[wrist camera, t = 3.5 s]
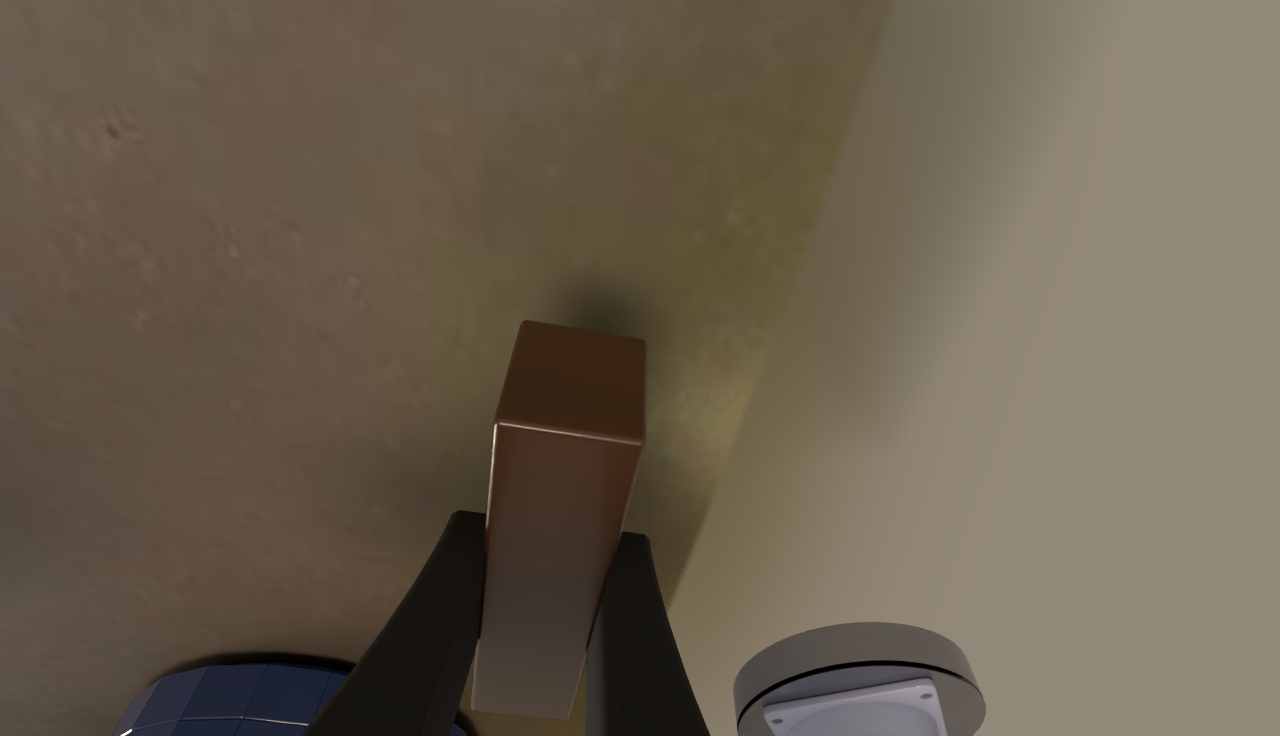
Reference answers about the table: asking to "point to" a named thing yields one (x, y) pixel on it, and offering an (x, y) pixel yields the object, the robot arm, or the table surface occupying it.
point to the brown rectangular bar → (555, 511)
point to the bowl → (234, 701)
